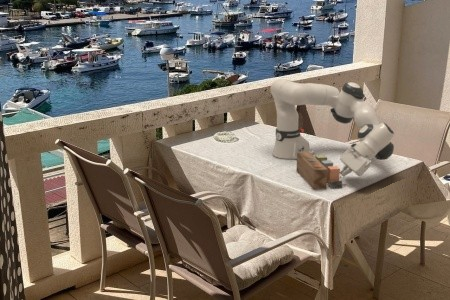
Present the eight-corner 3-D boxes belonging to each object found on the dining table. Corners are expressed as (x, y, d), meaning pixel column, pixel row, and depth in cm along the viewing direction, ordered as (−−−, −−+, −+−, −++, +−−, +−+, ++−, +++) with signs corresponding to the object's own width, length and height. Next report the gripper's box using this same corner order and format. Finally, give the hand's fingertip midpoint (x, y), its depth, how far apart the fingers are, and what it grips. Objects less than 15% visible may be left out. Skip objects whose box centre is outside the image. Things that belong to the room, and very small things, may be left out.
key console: (322, 168, 281) (323, 150, 279) (341, 187, 256) (343, 167, 254) (296, 170, 279) (297, 151, 276) (313, 189, 254) (314, 169, 252)
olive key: (323, 169, 279) (324, 154, 276) (326, 172, 275) (327, 157, 273) (314, 170, 278) (315, 155, 276) (317, 173, 274) (318, 157, 272)
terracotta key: (335, 181, 263) (336, 166, 260) (338, 184, 259) (339, 168, 257) (326, 182, 262) (327, 166, 260) (329, 185, 258) (330, 169, 256)
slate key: (329, 175, 271) (330, 160, 268) (332, 178, 267) (333, 162, 265) (320, 176, 270) (321, 160, 268) (323, 179, 266) (324, 163, 264)
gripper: (377, 164, 250) (354, 187, 251) (359, 151, 269) (338, 172, 270) (368, 155, 248) (345, 178, 249) (350, 142, 267) (329, 163, 268)
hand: (341, 174), depth 260 cm, fingers closed
